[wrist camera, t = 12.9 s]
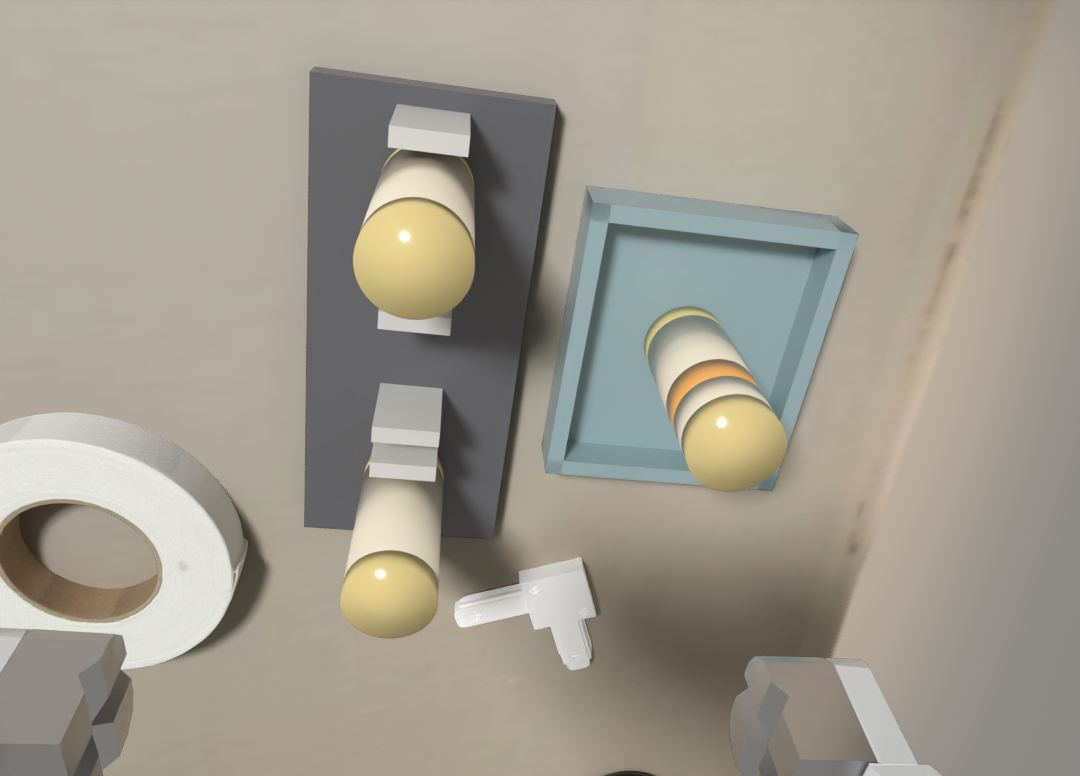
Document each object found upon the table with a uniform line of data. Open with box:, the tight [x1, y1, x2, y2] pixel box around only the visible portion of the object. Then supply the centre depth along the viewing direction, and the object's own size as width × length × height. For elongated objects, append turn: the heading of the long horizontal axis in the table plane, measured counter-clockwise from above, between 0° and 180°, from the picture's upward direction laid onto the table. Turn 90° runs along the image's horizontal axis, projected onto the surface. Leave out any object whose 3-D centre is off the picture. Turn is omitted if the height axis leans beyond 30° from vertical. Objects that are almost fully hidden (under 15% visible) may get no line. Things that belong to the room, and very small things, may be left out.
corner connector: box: [454, 557, 596, 670], centre depth 51 cm, size 8×8×2 cm
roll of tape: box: [0, 413, 248, 670], centre depth 45 cm, size 16×15×3 cm
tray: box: [542, 186, 859, 491], centre depth 41 cm, size 14×12×2 cm
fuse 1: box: [353, 148, 475, 320], centre depth 32 cm, size 4×4×10 cm
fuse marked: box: [644, 306, 787, 492], centre depth 37 cm, size 4×4×10 cm
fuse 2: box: [340, 453, 444, 638], centre depth 39 cm, size 4×4×10 cm
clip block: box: [304, 67, 557, 539], centre depth 39 cm, size 23×10×5 cm, turn 172°
